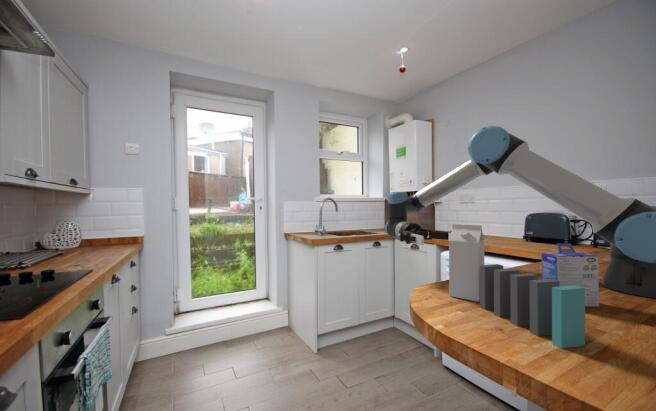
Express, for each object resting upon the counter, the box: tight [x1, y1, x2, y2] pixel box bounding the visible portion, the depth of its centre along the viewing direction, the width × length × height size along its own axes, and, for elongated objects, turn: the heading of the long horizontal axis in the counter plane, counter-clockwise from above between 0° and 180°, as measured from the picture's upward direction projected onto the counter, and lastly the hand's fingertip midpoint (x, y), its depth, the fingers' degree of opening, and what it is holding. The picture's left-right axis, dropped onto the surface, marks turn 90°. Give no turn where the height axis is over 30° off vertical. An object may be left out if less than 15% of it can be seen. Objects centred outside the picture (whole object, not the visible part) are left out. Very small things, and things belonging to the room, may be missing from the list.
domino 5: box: [551, 285, 586, 349], centre depth 47 cm, size 2×5×10 cm, turn 101°
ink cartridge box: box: [540, 242, 600, 307], centre depth 67 cm, size 10×6×14 cm, turn 89°
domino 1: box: [479, 263, 504, 310], centre depth 64 cm, size 2×5×10 cm, turn 101°
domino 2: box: [493, 268, 520, 318], centre depth 60 cm, size 2×5×10 cm, turn 101°
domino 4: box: [529, 279, 560, 337], centre depth 52 cm, size 2×5×10 cm, turn 101°
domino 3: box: [510, 272, 539, 327], centre depth 56 cm, size 2×5×10 cm, turn 101°
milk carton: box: [448, 223, 485, 303], centre depth 72 cm, size 7×7×19 cm
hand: (443, 240), depth 82 cm, fingers open, 13 cm apart
